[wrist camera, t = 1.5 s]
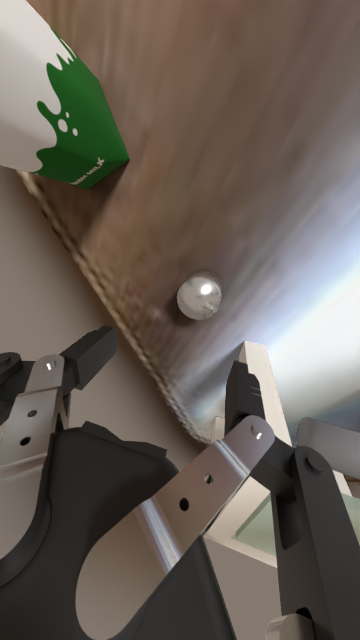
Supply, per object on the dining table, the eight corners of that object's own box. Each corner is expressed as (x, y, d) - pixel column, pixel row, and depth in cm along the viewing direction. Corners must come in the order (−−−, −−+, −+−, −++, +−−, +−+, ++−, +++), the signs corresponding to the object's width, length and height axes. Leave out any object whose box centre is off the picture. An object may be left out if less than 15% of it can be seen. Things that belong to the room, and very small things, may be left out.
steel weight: (226, 273, 24) (225, 283, 20) (217, 308, 27) (214, 324, 22) (189, 265, 25) (180, 274, 21) (183, 300, 27) (174, 314, 23)
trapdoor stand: (244, 340, 28) (255, 448, 14) (406, 381, 25) (615, 570, 11) (212, 425, 38) (201, 535, 24) (324, 462, 35) (382, 612, 21)
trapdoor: (287, 402, 18) (305, 462, 14) (457, 453, 16) (546, 543, 12) (235, 484, 27) (235, 538, 22) (342, 524, 25) (367, 593, 20)
